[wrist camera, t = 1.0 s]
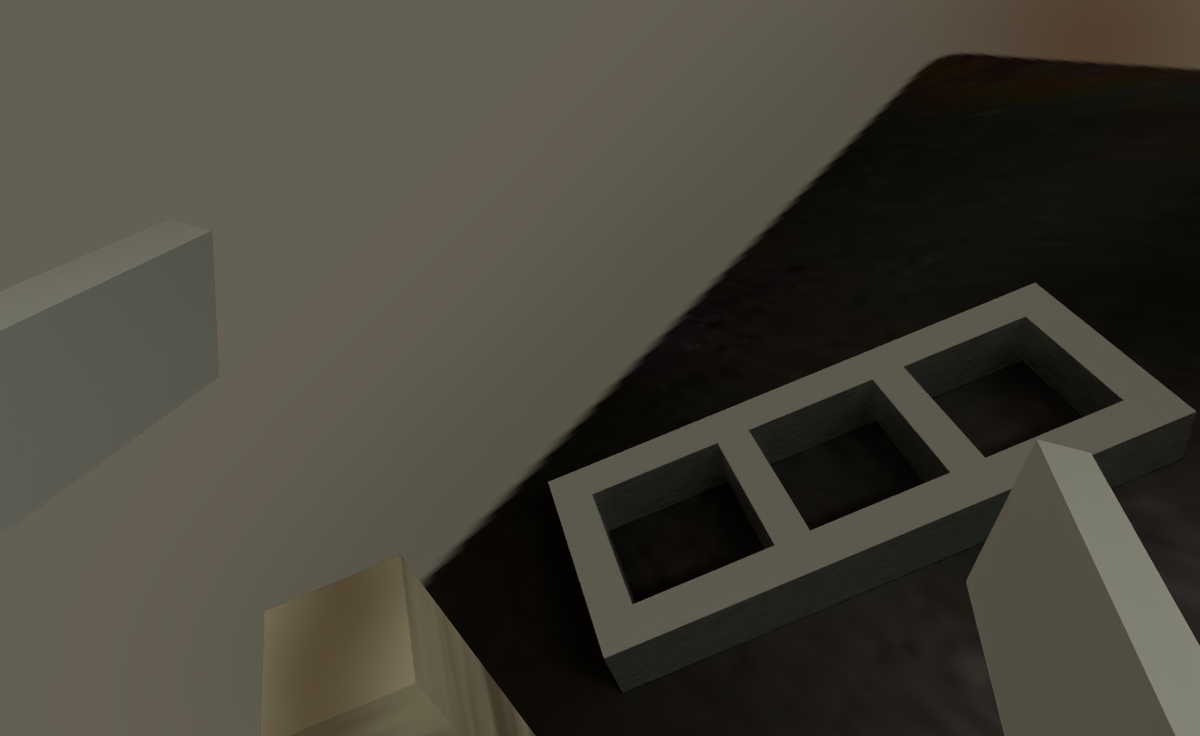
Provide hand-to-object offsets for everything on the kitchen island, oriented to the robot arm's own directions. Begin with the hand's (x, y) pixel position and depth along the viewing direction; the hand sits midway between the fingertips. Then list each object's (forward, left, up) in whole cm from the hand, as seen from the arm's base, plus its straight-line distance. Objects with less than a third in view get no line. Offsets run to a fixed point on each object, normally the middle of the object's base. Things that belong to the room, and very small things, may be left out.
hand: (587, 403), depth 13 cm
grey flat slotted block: (-10, -14, -24) cm, 29 cm away
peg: (+9, -6, -24) cm, 26 cm away
